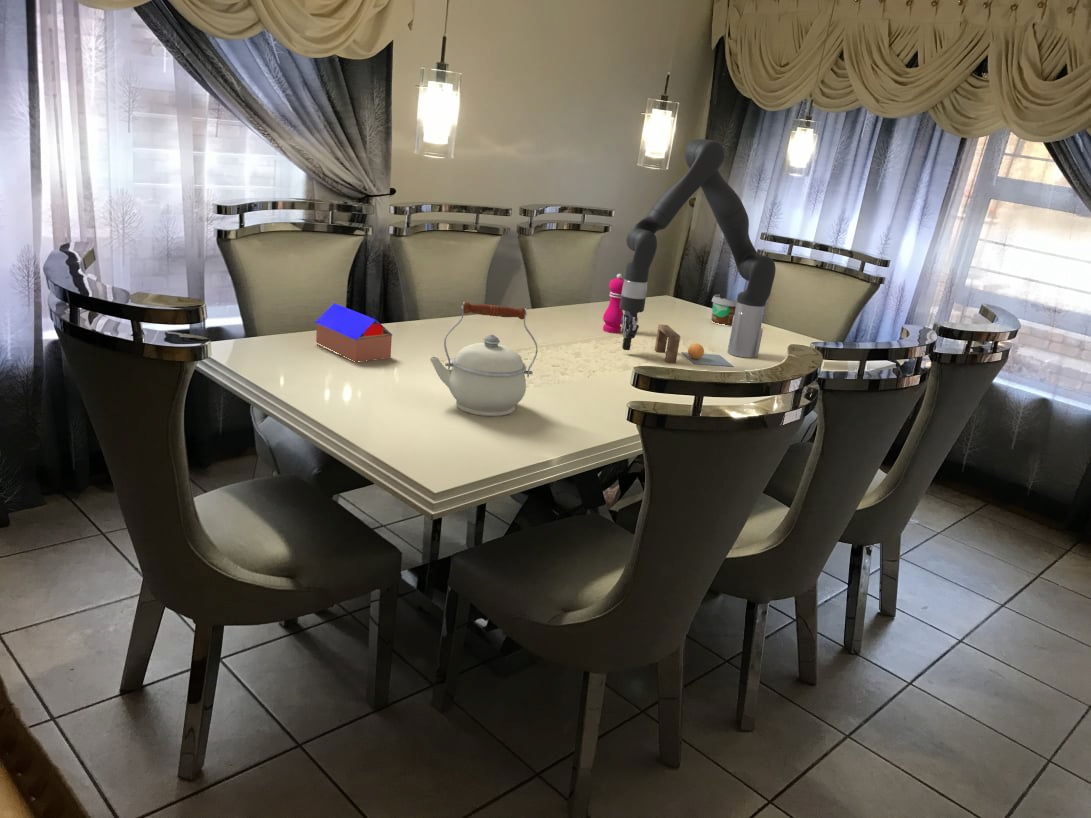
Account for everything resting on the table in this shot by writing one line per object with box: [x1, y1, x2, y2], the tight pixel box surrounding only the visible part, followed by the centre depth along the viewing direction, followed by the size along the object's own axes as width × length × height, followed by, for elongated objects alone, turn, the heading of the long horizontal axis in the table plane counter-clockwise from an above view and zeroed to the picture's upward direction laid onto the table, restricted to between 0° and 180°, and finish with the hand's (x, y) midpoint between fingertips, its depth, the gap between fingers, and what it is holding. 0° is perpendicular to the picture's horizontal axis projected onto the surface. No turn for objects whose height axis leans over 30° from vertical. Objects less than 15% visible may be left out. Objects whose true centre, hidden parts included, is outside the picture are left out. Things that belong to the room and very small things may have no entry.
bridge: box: [654, 323, 681, 364], centre depth 268 cm, size 3×14×9 cm, turn 9°
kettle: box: [429, 301, 538, 417], centre depth 200 cm, size 25×18×25 cm
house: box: [314, 303, 393, 363], centre depth 235 cm, size 12×20×12 cm, turn 46°
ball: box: [687, 343, 705, 359], centre depth 270 cm, size 5×5×5 cm
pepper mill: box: [602, 273, 624, 334], centre depth 292 cm, size 7×7×20 cm
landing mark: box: [681, 351, 734, 368], centre depth 272 cm, size 13×13×1 cm
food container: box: [711, 294, 737, 326], centre depth 326 cm, size 12×6×10 cm, turn 25°
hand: (625, 349), depth 266 cm, fingers closed
